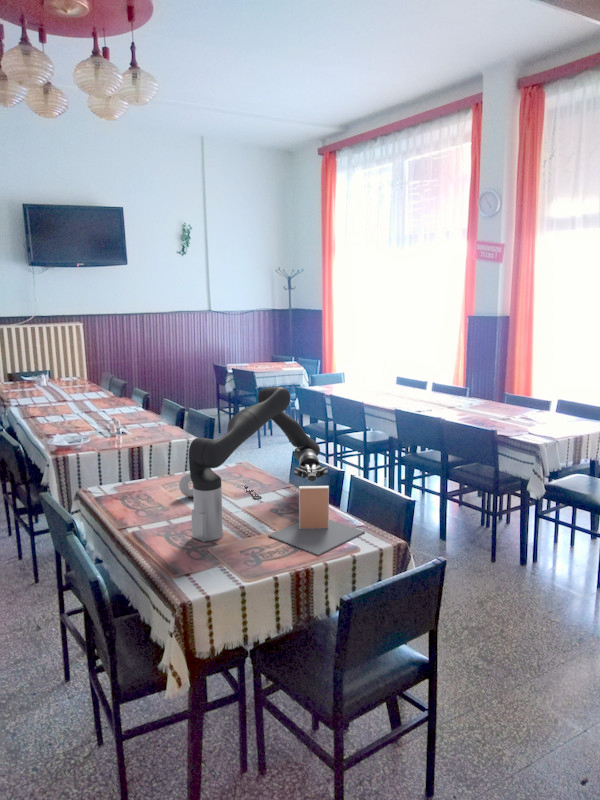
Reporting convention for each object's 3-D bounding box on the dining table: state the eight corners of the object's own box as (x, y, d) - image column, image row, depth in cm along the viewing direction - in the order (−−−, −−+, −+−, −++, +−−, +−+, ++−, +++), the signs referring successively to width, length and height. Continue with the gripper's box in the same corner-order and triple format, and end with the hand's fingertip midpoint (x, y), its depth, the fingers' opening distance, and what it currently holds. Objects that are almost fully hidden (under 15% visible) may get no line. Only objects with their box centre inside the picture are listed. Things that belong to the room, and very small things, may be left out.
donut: (202, 493, 243) (201, 469, 242) (205, 495, 241) (204, 471, 239) (178, 497, 239) (177, 472, 237) (181, 499, 236) (180, 475, 234)
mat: (318, 555, 187) (318, 554, 187) (268, 536, 201) (268, 534, 201) (364, 532, 204) (364, 531, 204) (315, 516, 219) (315, 514, 219)
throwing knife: (253, 500, 235) (253, 499, 235) (237, 485, 253) (237, 484, 253) (263, 499, 237) (263, 497, 237) (247, 484, 255) (247, 482, 255)
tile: (299, 526, 208) (299, 486, 206) (328, 525, 209) (328, 485, 206) (299, 529, 206) (299, 488, 203) (328, 528, 206) (329, 487, 204)
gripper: (291, 454, 231) (293, 469, 214) (326, 453, 231) (330, 468, 214) (292, 473, 232) (293, 489, 215) (326, 472, 233) (330, 488, 216)
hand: (312, 478), depth 215 cm, fingers closed
